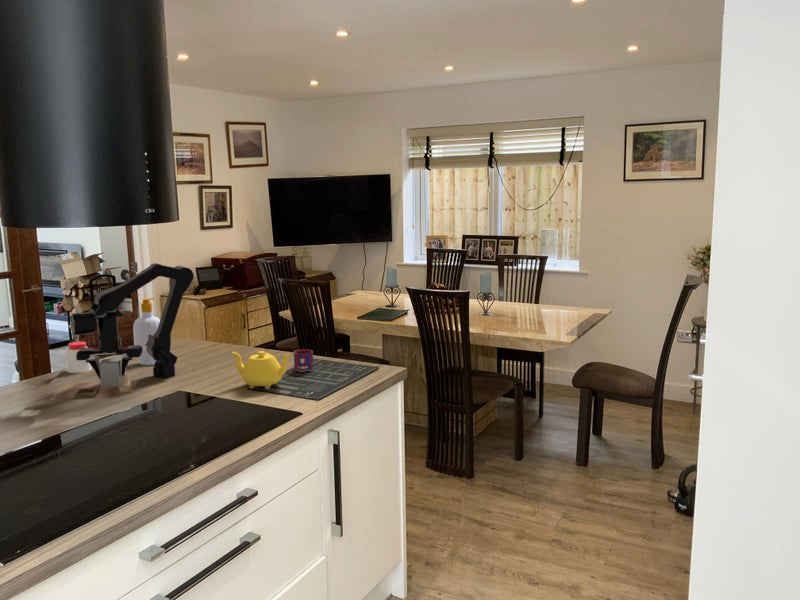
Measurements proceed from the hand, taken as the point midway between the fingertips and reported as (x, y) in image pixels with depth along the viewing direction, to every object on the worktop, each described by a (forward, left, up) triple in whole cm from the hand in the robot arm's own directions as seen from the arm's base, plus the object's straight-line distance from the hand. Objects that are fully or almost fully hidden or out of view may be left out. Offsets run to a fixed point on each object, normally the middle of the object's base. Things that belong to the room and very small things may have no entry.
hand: (112, 378), depth 206 cm
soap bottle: (-7, -30, -4) cm, 31 cm away
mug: (-62, -10, -4) cm, 63 cm away
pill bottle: (+15, -21, -4) cm, 26 cm away
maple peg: (-5, +10, -2) cm, 11 cm away
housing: (0, 0, -2) cm, 2 cm away
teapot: (-47, +6, -4) cm, 48 cm away
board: (+4, +4, -4) cm, 7 cm away
